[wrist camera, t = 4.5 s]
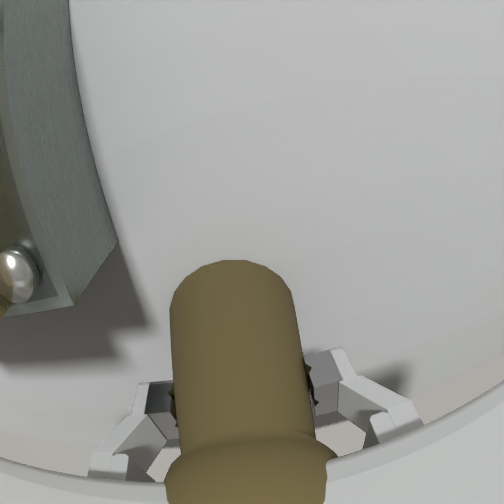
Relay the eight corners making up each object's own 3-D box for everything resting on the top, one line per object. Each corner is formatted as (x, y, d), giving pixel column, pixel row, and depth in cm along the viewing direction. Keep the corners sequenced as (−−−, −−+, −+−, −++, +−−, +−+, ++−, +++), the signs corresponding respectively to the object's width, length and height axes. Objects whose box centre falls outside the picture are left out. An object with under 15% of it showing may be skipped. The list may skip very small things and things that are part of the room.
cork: (231, 376, 16) (254, 567, 6) (144, 315, 14) (99, 546, 4) (317, 313, 15) (412, 517, 5) (235, 232, 13) (294, 524, 3)
